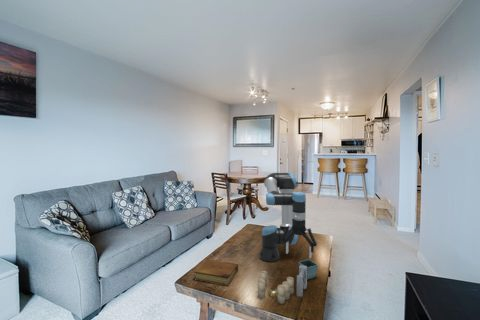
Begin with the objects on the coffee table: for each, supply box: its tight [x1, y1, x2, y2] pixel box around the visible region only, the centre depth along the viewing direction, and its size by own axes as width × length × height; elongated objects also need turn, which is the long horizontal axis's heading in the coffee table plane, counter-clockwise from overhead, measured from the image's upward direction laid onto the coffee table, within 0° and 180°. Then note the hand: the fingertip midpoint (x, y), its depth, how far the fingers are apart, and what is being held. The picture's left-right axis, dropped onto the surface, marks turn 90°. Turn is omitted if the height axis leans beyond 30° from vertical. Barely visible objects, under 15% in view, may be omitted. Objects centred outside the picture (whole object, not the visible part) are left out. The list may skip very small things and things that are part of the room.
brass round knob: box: [268, 287, 277, 298], centre depth 131 cm, size 5×5×3 cm
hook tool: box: [296, 265, 308, 298], centre depth 135 cm, size 13×4×12 cm, turn 155°
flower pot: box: [298, 259, 319, 280], centre depth 150 cm, size 9×9×9 cm
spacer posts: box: [257, 270, 295, 305], centre depth 131 cm, size 14×20×8 cm
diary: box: [193, 259, 239, 287], centre depth 152 cm, size 23×19×6 cm
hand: (298, 255), depth 137 cm, fingers open, 13 cm apart
